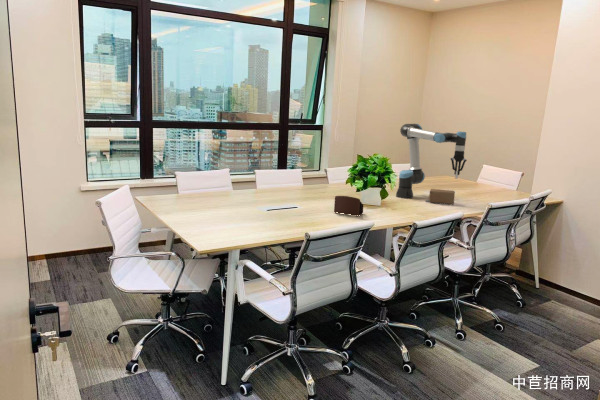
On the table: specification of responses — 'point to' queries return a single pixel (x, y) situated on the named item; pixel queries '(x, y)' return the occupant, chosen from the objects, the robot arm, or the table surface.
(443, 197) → the wooden block
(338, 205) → the letter holder
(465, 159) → the robot arm
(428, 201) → the mat
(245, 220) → the table surface
